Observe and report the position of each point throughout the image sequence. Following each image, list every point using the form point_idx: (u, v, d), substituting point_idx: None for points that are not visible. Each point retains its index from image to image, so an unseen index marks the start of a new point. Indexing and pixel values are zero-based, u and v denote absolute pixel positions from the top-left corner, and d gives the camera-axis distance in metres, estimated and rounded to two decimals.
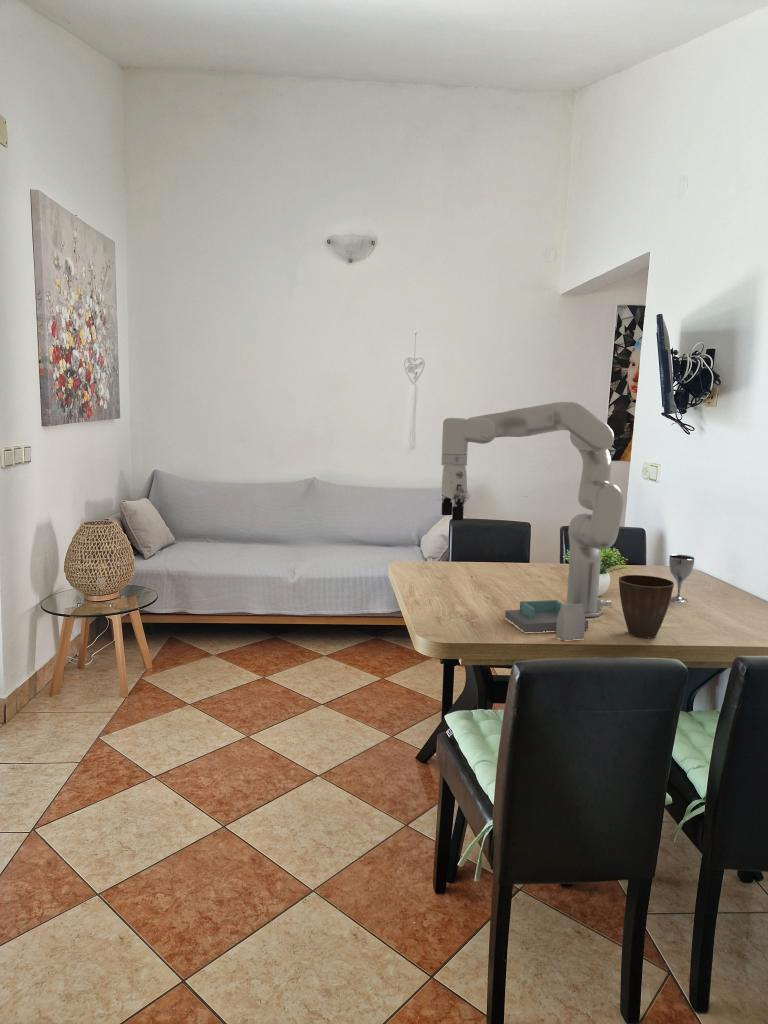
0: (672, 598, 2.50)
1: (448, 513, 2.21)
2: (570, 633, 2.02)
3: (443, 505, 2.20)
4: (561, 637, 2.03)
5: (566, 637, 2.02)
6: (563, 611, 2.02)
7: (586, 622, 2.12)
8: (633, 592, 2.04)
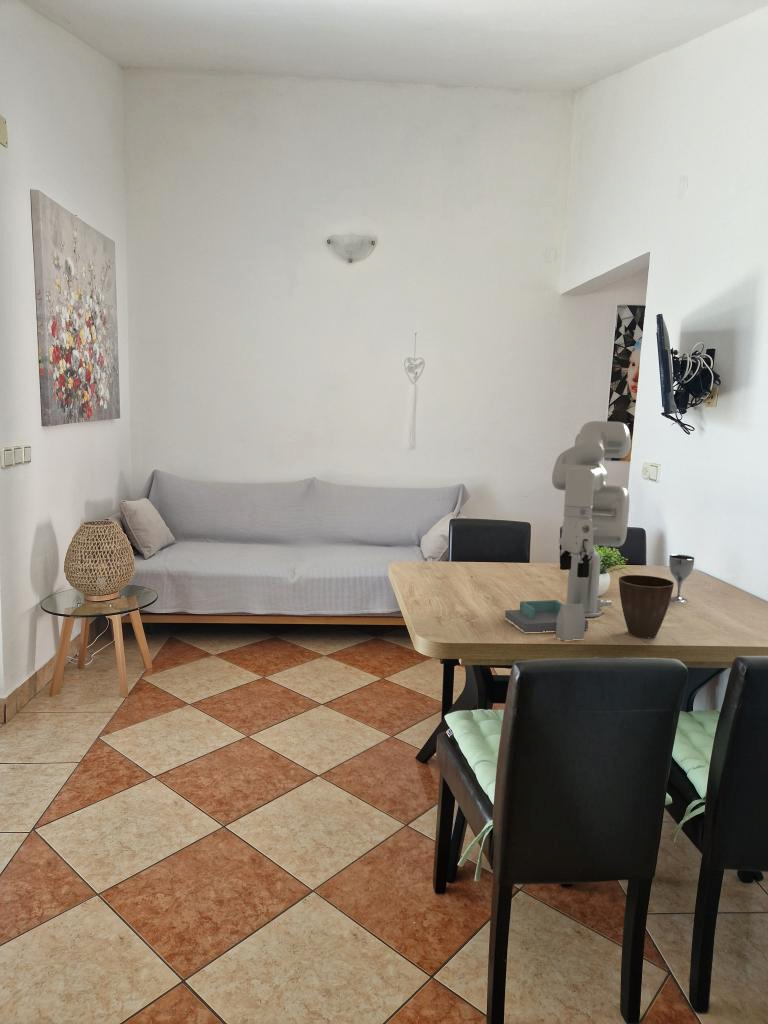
0: (672, 598, 2.50)
1: (567, 567, 2.06)
2: (570, 633, 2.02)
3: (562, 559, 2.05)
4: (561, 637, 2.03)
5: (566, 637, 2.02)
6: (563, 611, 2.02)
7: (586, 622, 2.12)
8: (633, 592, 2.04)
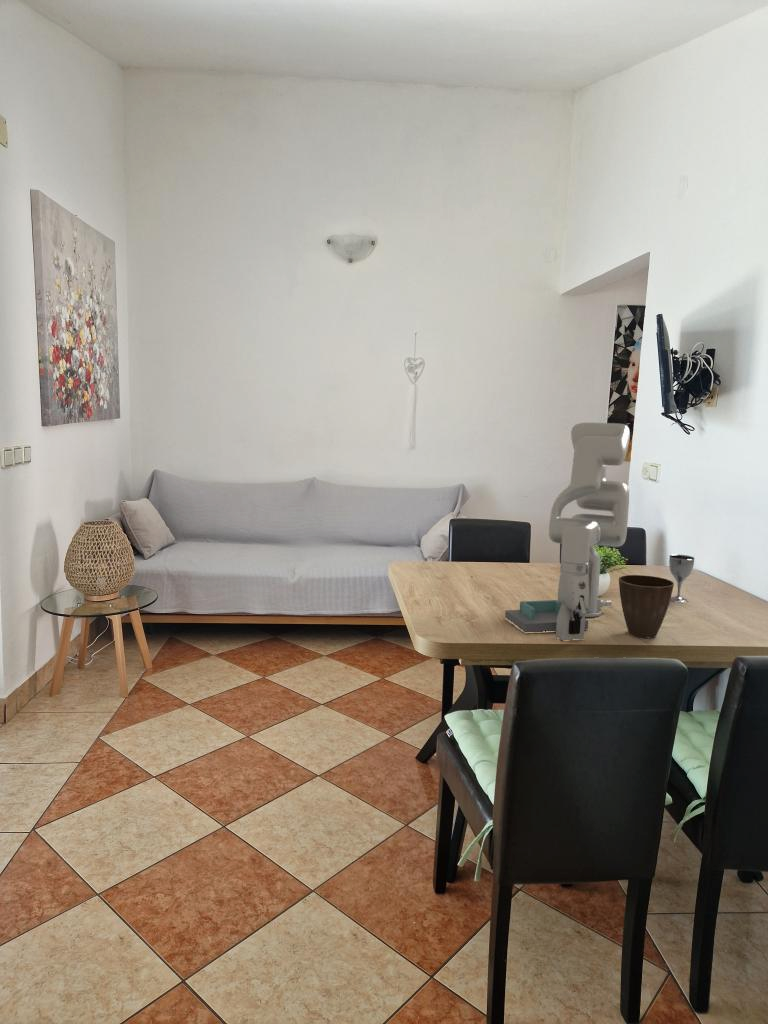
0: (672, 598, 2.50)
1: None
2: None
3: None
4: (561, 637, 2.03)
5: (565, 637, 2.02)
6: (563, 611, 2.02)
7: (586, 622, 2.12)
8: (633, 592, 2.04)
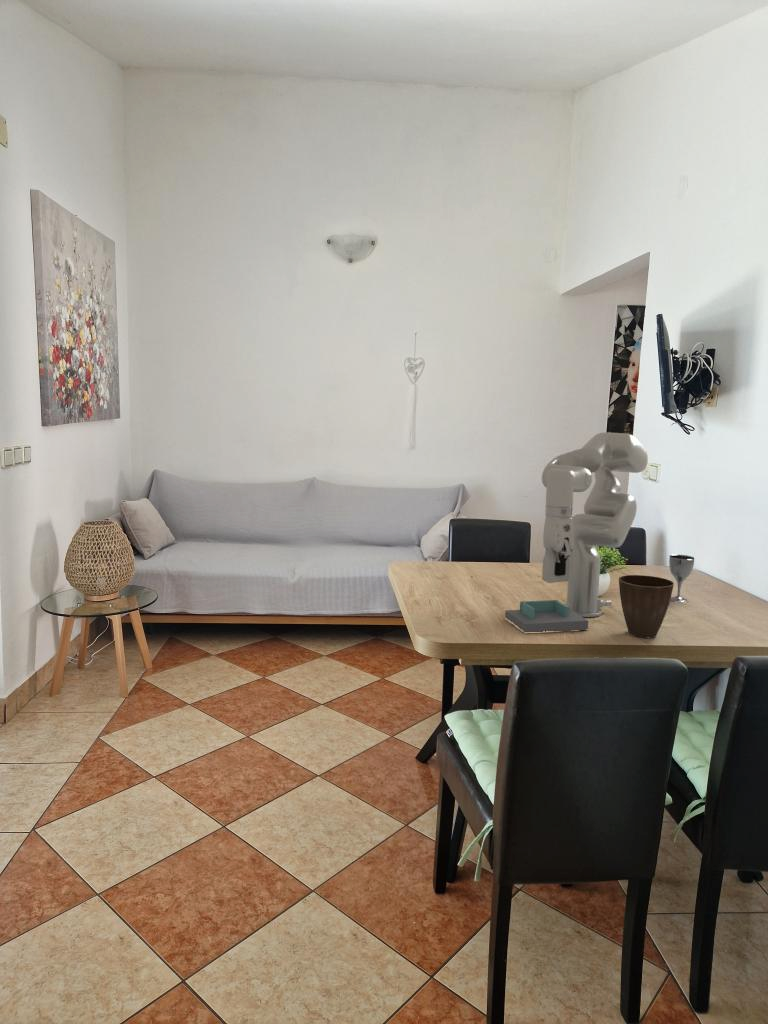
0: (672, 598, 2.50)
1: None
2: None
3: None
4: (547, 579, 2.10)
5: (552, 578, 2.10)
6: (549, 553, 2.09)
7: (586, 622, 2.12)
8: (633, 592, 2.04)
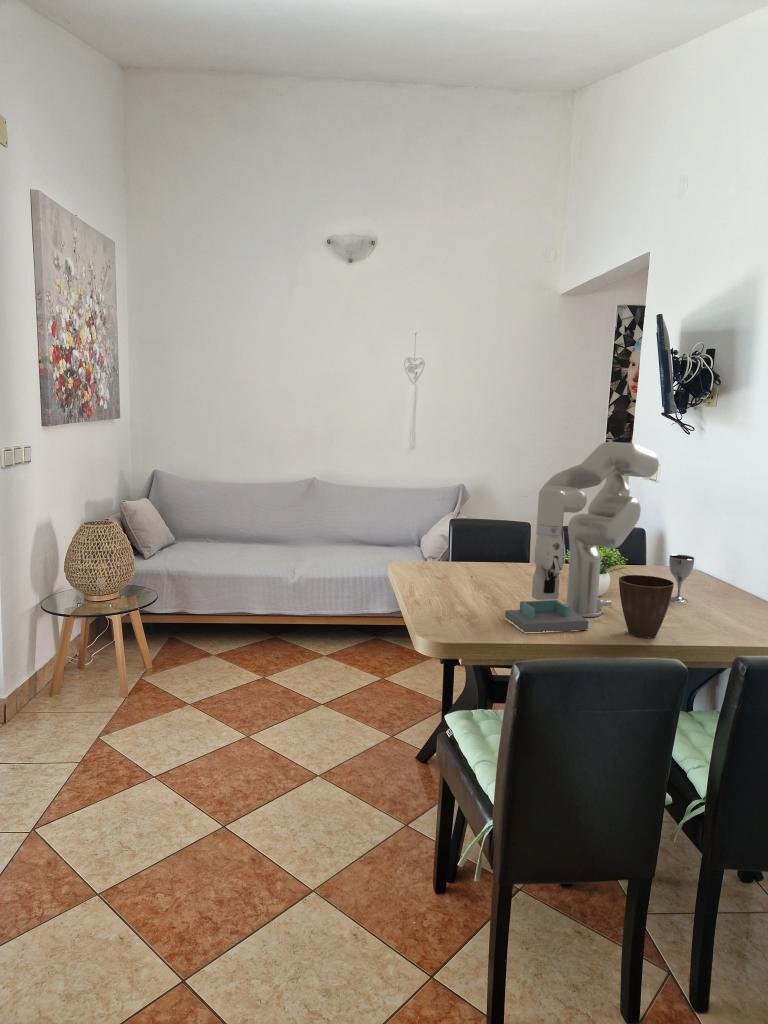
0: (672, 598, 2.50)
1: None
2: None
3: None
4: (536, 596, 2.14)
5: (541, 595, 2.14)
6: (538, 571, 2.14)
7: (586, 622, 2.12)
8: (633, 592, 2.03)
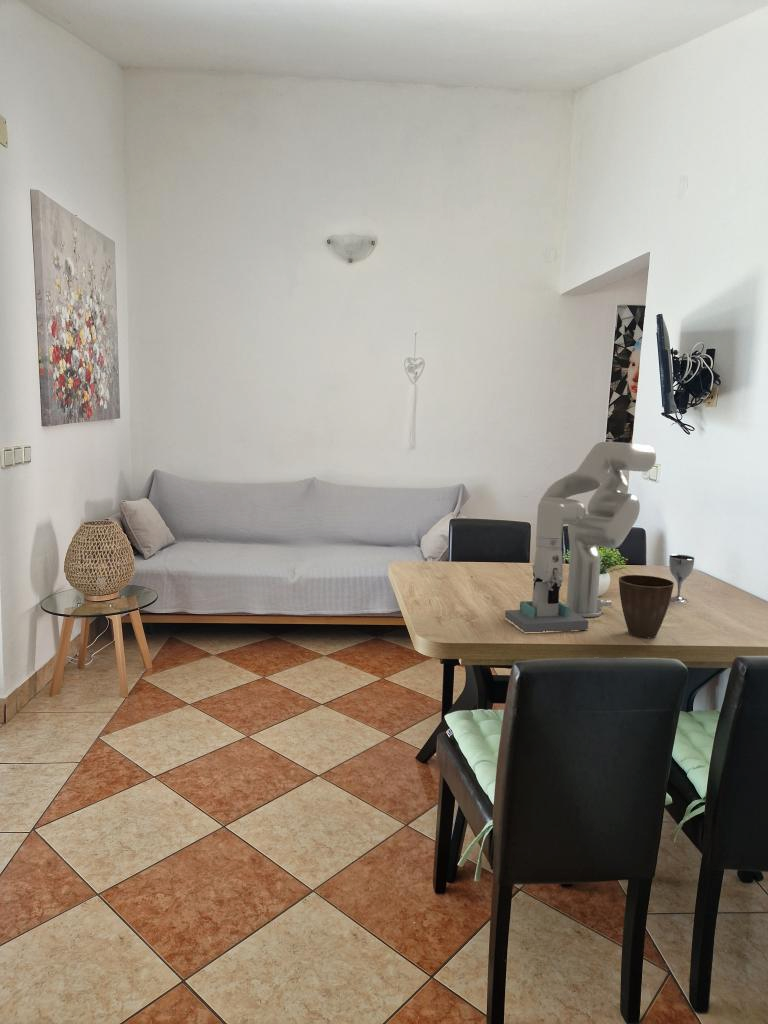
0: (672, 598, 2.50)
1: None
2: (544, 608, 2.15)
3: None
4: (536, 612, 2.16)
5: (540, 612, 2.15)
6: (538, 588, 2.15)
7: (586, 622, 2.12)
8: (633, 592, 2.03)
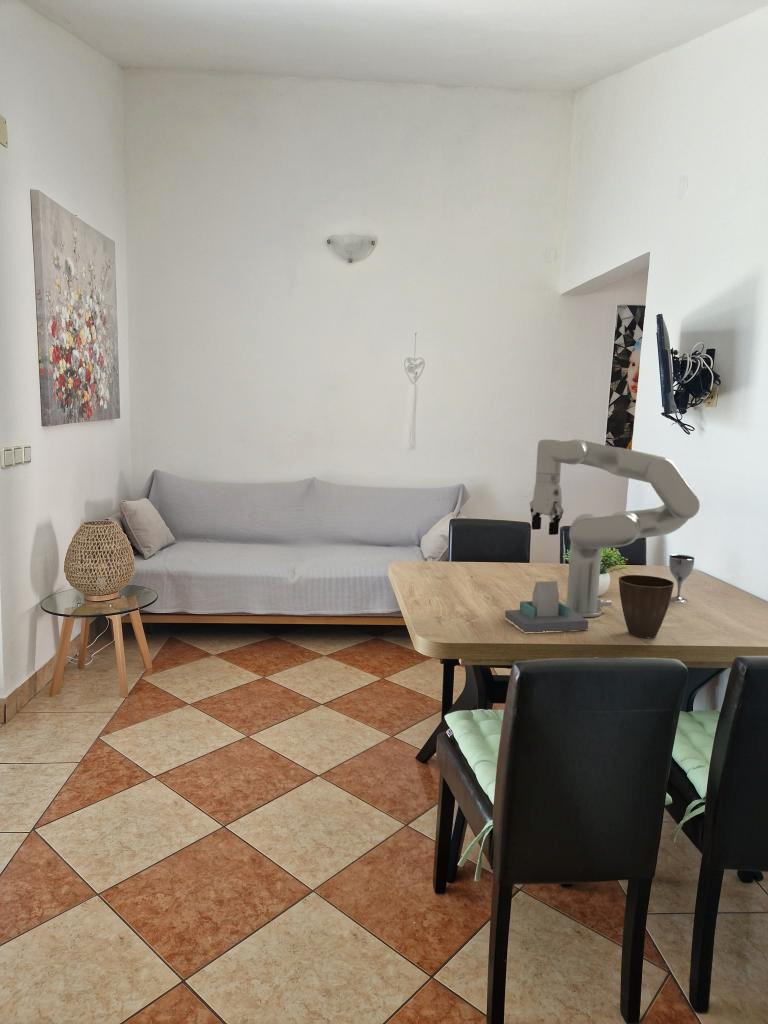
0: (672, 598, 2.50)
1: (537, 527, 2.37)
2: (544, 608, 2.15)
3: (533, 520, 2.36)
4: (536, 612, 2.16)
5: (540, 612, 2.15)
6: (538, 588, 2.15)
7: (586, 622, 2.12)
8: (633, 592, 2.04)
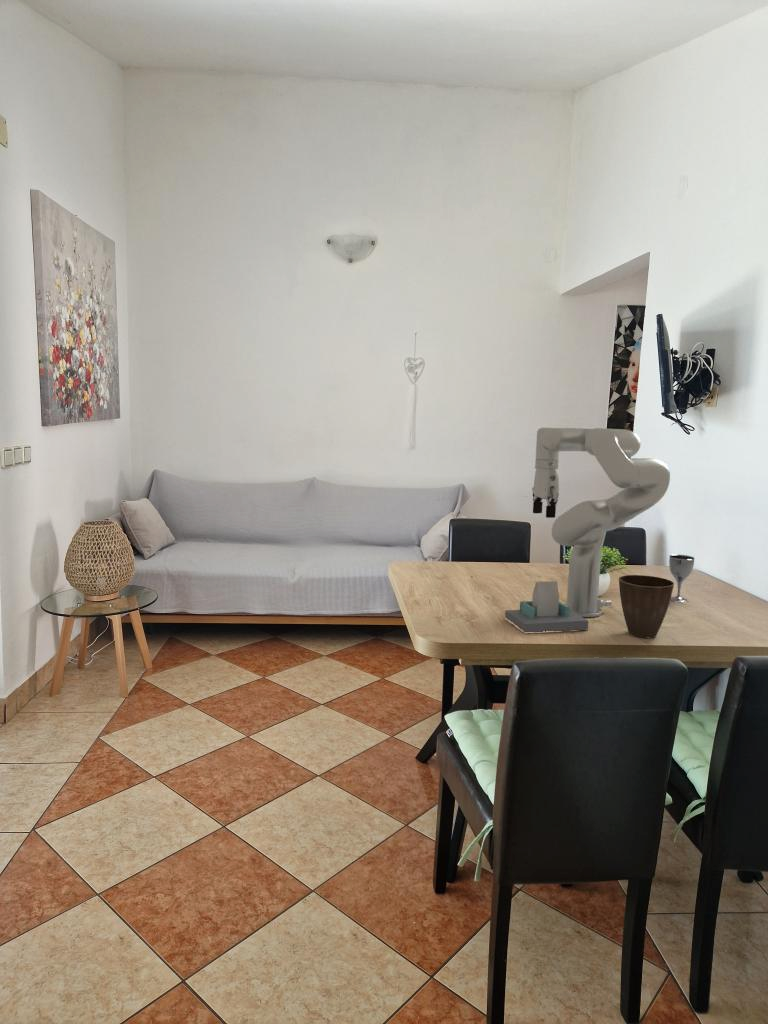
0: (672, 598, 2.50)
1: (539, 511, 2.50)
2: (544, 608, 2.15)
3: (534, 504, 2.49)
4: (536, 612, 2.16)
5: (540, 612, 2.15)
6: (538, 588, 2.15)
7: (586, 622, 2.12)
8: (633, 592, 2.04)
